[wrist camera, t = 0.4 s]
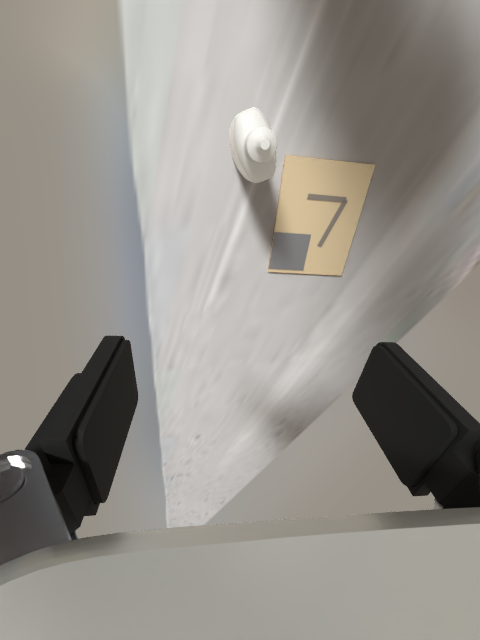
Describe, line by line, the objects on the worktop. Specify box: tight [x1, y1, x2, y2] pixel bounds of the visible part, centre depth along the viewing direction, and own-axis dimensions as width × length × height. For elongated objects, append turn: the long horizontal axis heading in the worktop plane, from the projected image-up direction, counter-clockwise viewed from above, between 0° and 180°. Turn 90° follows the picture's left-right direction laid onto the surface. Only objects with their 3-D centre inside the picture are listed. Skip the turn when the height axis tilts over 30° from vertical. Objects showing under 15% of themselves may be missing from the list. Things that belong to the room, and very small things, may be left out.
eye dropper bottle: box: [229, 107, 277, 183], centre depth 24 cm, size 4×6×12 cm
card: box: [268, 155, 375, 276], centre depth 34 cm, size 14×11×1 cm
